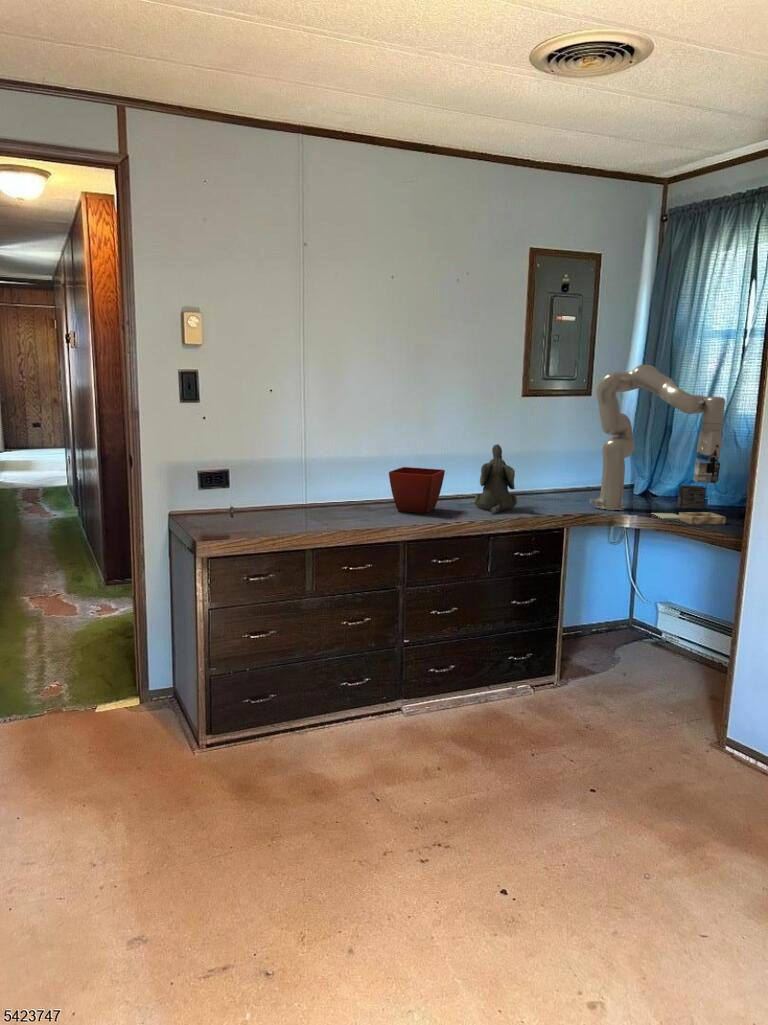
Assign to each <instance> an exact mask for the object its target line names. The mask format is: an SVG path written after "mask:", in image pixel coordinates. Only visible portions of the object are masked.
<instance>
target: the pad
mask: <svg viewBox="0 0 768 1025" xmlns="http://www.w3.org/2000/svg"><path fill="white" fill-rule="evenodd" d="M651 514H654V515H656V516H658V517H657V518H659V517H660V518H659V519H661V518H662V520H678V518H679V514H676V513H674V512H651V513H650V515H651ZM654 515H653V516H654ZM656 516H655V517H656Z"/></svg>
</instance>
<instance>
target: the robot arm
mask: <svg viewBox="0 0 768 1025" xmlns="http://www.w3.org/2000/svg"><path fill="white" fill-rule="evenodd" d="M642 388H643V389H646V390H647V391H649V392H650V393H652V394H654V395H656V396H657V397H659V398H660V399H661V400H663V401H664V402H666V403H667V404H669V405H670V406H671V407H673V408H675V409H676V410H679V411H680V412H682V413H684V414H688V415H693V414H694V415H696V414H697V415H698V414H702V415H703V417H702V423H701V430H700V432H699V435H698V436H699V437H698V441H697V446H696V453H697V452H700V454H701V455H703V456H708V462H709V463H707V470H706V473H714V469H715V464H716V461H717V460H718V461H719V459H720V458H721V449H722V430H723V423H724V414H725V407H726V406H725V405H726V399H725V398H724V397H722V396H704V395H699V394H697V395H696V394H694V395H693V394H690V393H689V392H687V391H685V390H683V389H681V388H680V387H679V386H677V385H676V383H675V382H674V380H673V379H672V378H671V377H669V376H666V375H665V374H663V373H662V372H659V370H658V369H657V368H656V367H655V366H653V365H650V364H649V365H648V364H640V365H638V366H635V367H634V368H633V370H628V371H625V372H621V371H617V372H616V371H613V372H610V373H608V374H606V375H604V376H603V377H602V378H601V379H600V381H599V382H598V384H597V387H596V397H597V403H598V410H599V417H600V424H601V428H602V432H604V433H605V434H606V435H610V436H611V438H609V439H607V440H606V441H605V442H604V444H603V446H602V470H601V471H602V474H601V487H600V495H599V496H598V497H597V498H596V499H595V498H594V499H592V498H590V499H589V504H590V505H591V504H593V505H594V504H595V508H597V509H599V508H600V510H604V509H606V510H605V511H614V510H620V511H624V510H623V509H626V506H625V505H623V495H624V488H625V487H624V486H625V477H626V476H625V474H626V461H625V459H626V458H629V457H630V456H631V455H632V454H633V453H634V451H635V439H634V433H633V426H632V422H631V420H630V418H629V417H628V415H627V414H625V413H623V412H621V410H620V409H621V408H620V402H619V399H618V397H617V393H625V392H626V393H627V392H630V391H633V390H637V389H642ZM711 455H714V456H711ZM711 457H713V458H712V459H711Z"/></svg>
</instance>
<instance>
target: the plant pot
mask: <svg viewBox="0 0 768 1025" xmlns="http://www.w3.org/2000/svg"><path fill="white" fill-rule="evenodd" d="M445 471H446V470H445V469H441V468H440V469H438V468H437V469H436V468H427V467H424V468H423V467H413V466H411V467H410V466H409V467H408V466H402V467H400V468H396V469H394V470H391V471H390V470H389V471H388V479H389V484H390V489H391V493H392V497H393V501H394V503H395V507H396V510H397V511H398V512H407V513H419V514H426V513H429V512H431V511H432V510H434V509H435V508H436V506H437V503H438V500H439V497H440V493H441V491H442V487H443V483H444V478H445V473H446V472H445Z"/></svg>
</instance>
